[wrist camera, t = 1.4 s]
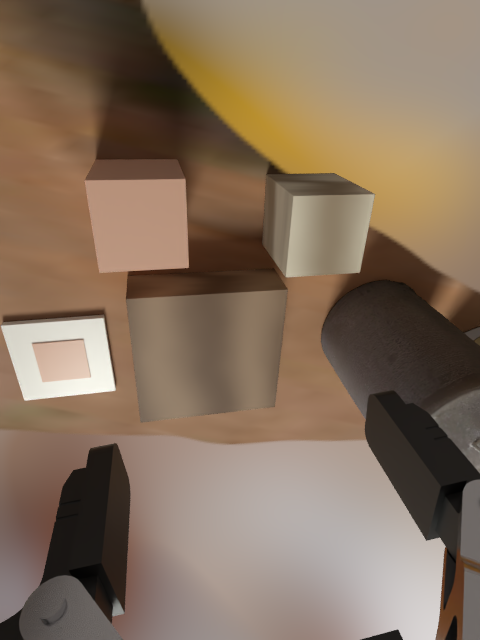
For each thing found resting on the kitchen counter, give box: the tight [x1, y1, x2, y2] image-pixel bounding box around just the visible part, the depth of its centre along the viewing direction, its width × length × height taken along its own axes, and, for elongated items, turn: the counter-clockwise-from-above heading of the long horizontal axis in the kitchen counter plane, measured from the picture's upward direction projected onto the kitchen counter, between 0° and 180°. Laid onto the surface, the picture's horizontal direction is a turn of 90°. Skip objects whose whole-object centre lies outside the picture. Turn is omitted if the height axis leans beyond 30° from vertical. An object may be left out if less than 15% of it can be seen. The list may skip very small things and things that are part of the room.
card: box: [1, 315, 116, 400], centre depth 31 cm, size 7×7×1 cm
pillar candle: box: [321, 280, 480, 473], centre depth 30 cm, size 10×10×15 cm
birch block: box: [262, 173, 375, 277], centre depth 27 cm, size 5×5×6 cm
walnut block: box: [126, 269, 288, 422], centre depth 32 cm, size 11×11×4 cm
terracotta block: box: [85, 159, 189, 273], centre depth 24 cm, size 5×5×6 cm
